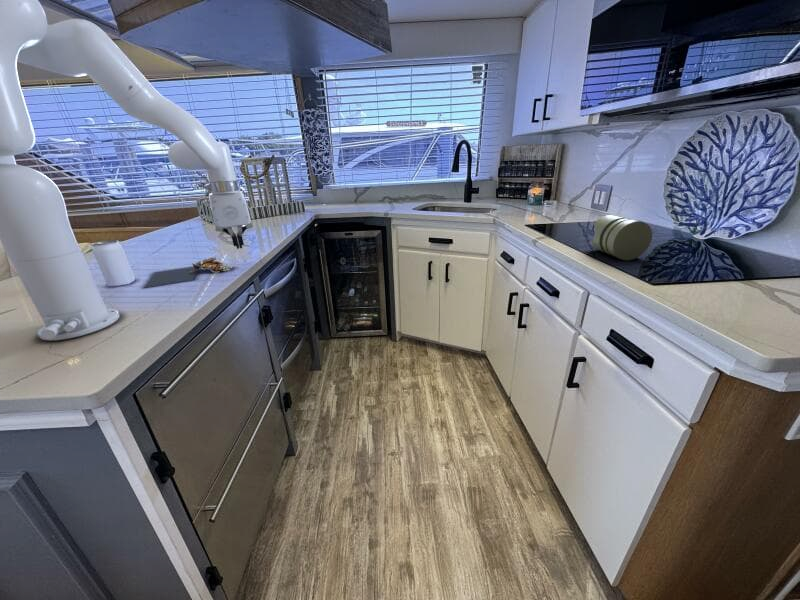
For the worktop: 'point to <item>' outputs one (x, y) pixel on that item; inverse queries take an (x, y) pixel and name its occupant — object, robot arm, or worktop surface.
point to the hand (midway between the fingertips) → (239, 247)
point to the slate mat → (171, 277)
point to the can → (113, 263)
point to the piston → (621, 237)
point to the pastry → (211, 265)
